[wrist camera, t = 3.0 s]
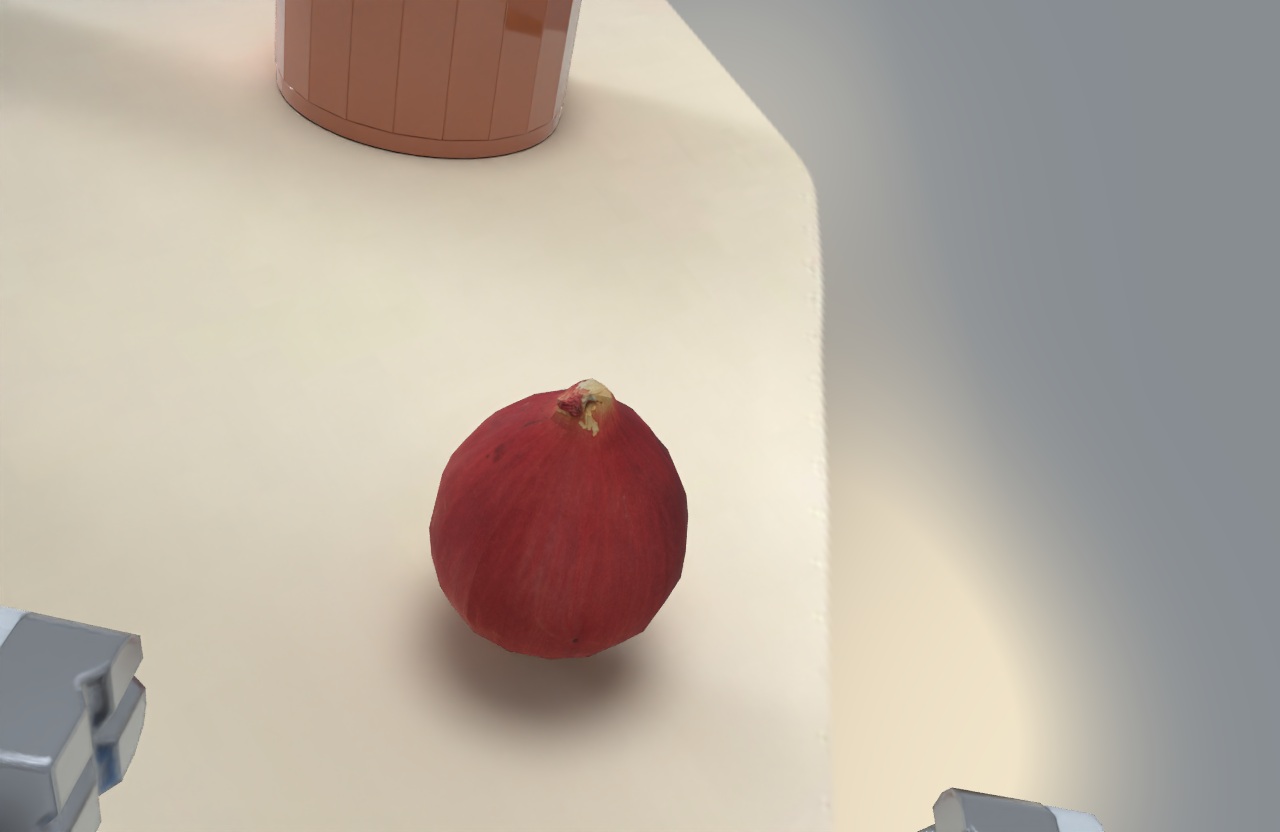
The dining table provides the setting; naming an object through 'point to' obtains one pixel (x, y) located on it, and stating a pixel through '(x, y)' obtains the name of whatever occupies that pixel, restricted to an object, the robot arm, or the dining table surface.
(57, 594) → the dining table surface
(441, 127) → the terracotta bowl
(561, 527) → the onion
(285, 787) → the dining table surface
